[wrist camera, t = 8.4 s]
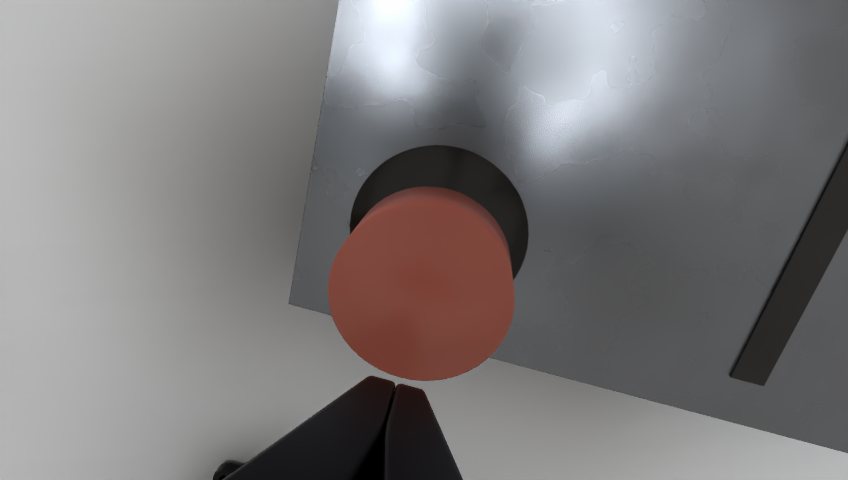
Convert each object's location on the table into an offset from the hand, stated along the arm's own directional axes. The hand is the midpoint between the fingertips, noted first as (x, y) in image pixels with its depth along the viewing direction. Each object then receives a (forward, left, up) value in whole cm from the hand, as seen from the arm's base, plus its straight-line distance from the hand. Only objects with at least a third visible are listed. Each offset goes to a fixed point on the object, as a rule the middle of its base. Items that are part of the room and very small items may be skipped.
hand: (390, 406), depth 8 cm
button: (0, 0, -6) cm, 6 cm away
